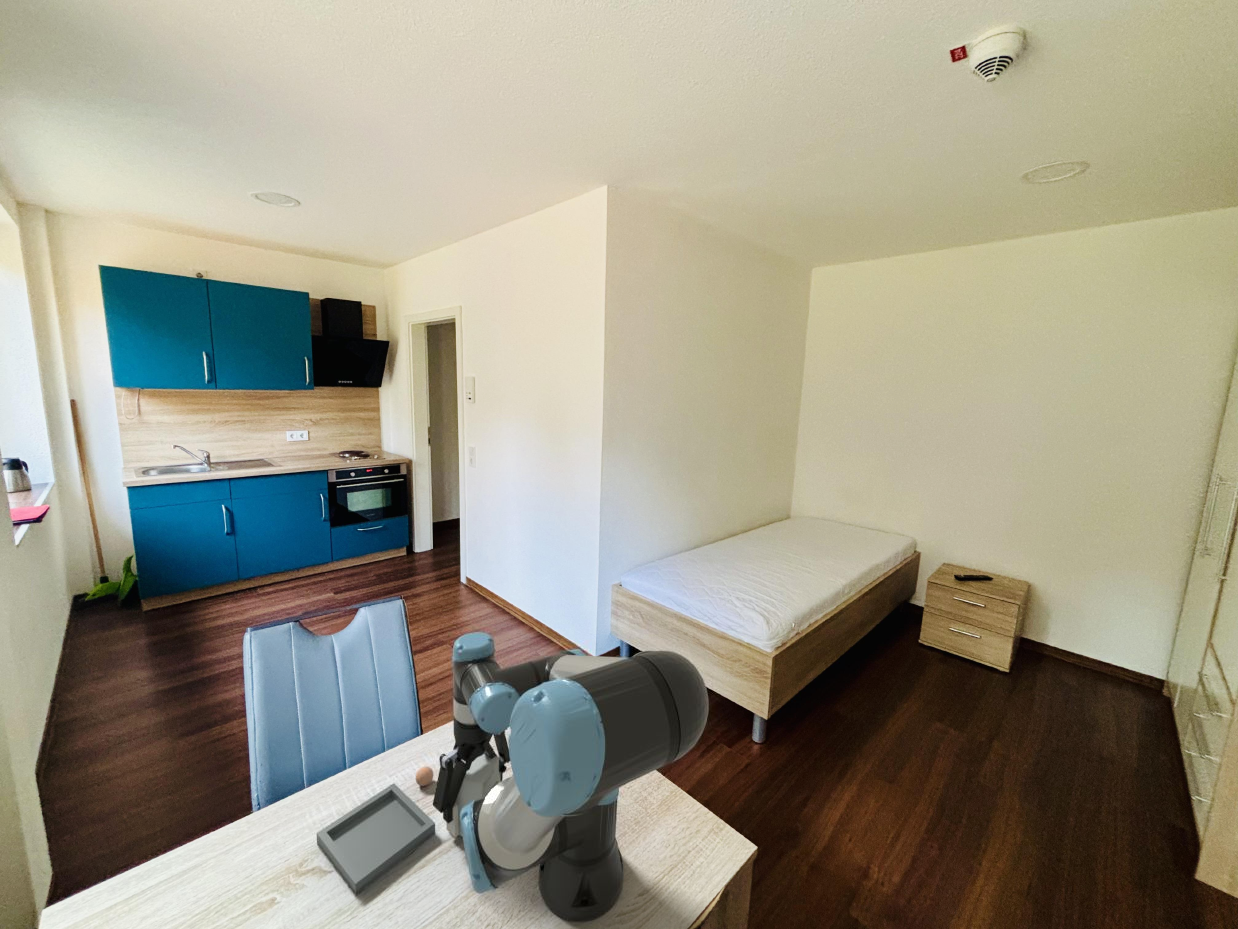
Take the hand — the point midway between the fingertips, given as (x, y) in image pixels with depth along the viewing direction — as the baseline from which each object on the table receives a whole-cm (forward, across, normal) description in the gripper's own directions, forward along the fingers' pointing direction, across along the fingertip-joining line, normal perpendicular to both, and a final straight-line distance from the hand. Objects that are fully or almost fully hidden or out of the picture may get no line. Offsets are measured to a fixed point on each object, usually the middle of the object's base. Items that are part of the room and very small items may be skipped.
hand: (474, 814), depth 98 cm
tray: (+2, +14, -11) cm, 18 cm away
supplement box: (+2, 0, 0) cm, 2 cm away
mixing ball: (+2, +1, -16) cm, 16 cm away
